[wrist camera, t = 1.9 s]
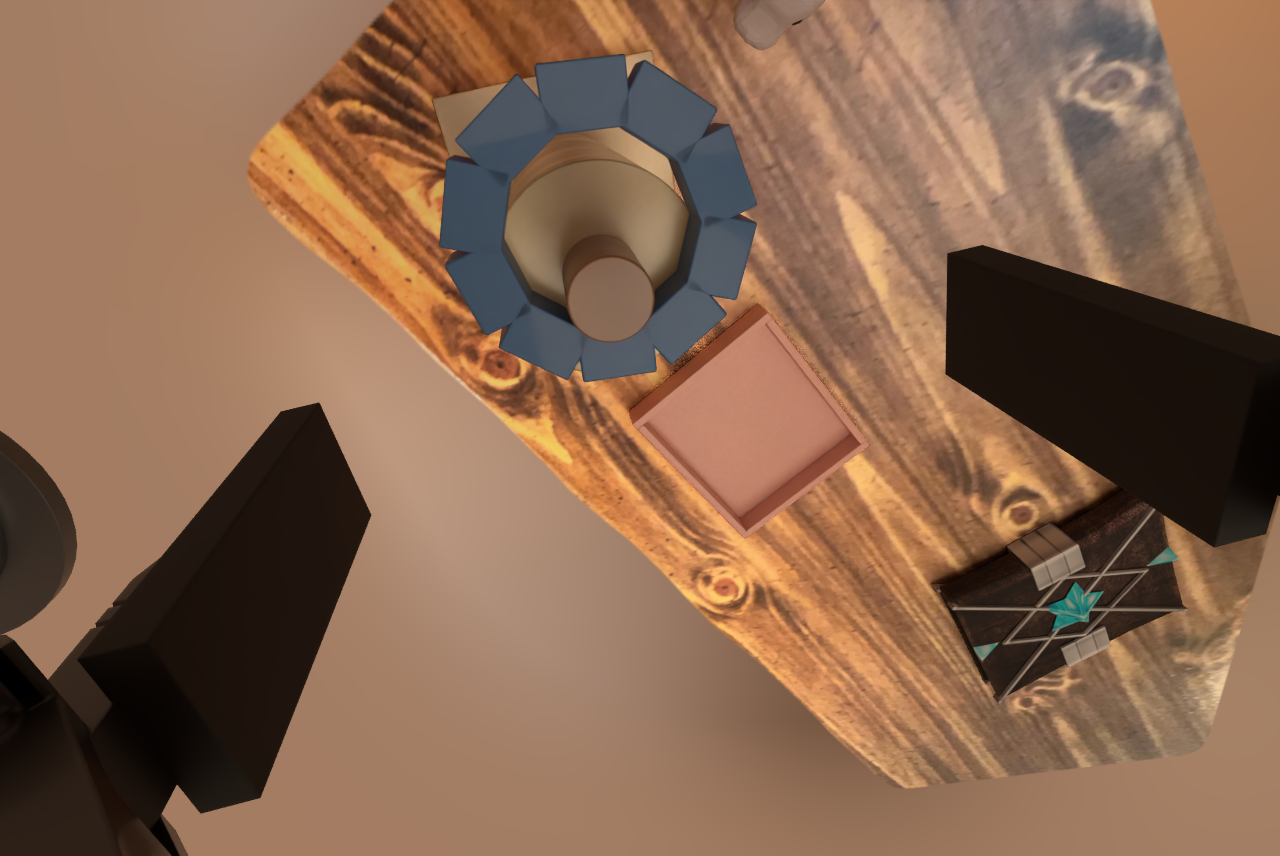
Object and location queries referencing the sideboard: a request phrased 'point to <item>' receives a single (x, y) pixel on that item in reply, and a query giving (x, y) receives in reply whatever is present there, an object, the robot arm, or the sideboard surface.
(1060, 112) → the sideboard surface
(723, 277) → the ring
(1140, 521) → the book
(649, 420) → the tray
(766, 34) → the figurine
